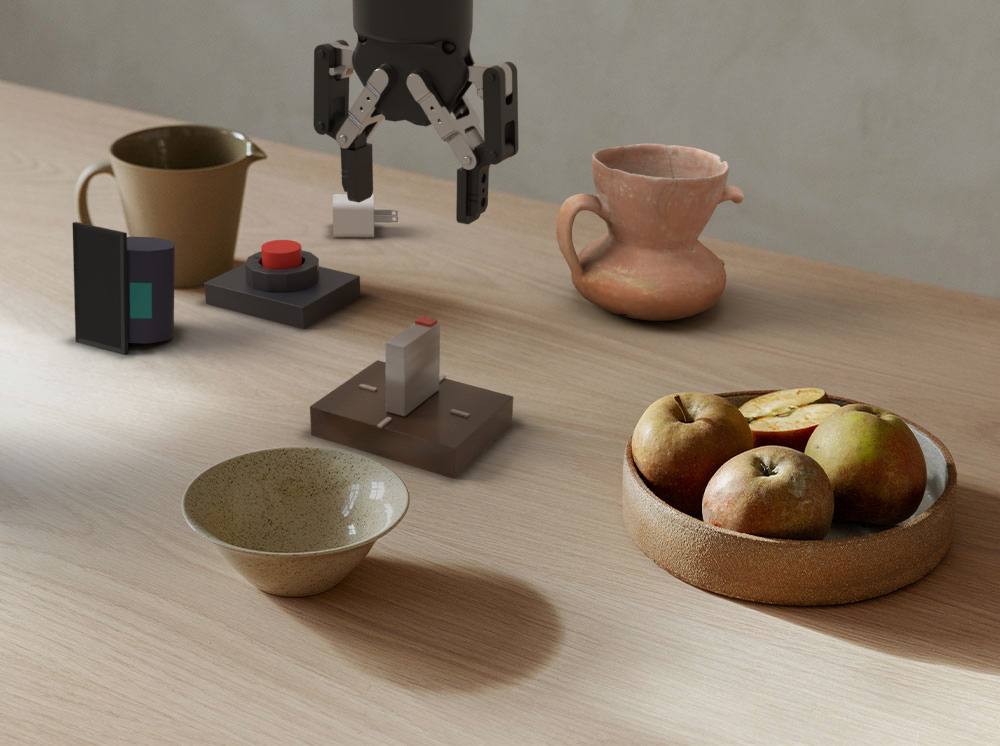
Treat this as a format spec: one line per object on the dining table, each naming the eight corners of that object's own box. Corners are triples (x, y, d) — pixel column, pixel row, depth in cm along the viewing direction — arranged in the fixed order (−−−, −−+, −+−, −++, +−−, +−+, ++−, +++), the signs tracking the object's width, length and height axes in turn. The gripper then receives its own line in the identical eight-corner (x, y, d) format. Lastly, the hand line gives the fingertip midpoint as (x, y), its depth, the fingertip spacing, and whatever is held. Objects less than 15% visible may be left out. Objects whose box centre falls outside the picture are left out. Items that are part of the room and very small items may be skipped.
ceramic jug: (697, 272, 114) (714, 135, 107) (760, 328, 101) (783, 177, 95) (529, 282, 110) (536, 140, 103) (572, 342, 97) (583, 185, 91)
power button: (254, 266, 101) (252, 248, 100) (278, 254, 104) (277, 237, 103) (286, 274, 99) (285, 255, 98) (309, 262, 102) (309, 244, 101)
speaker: (107, 362, 90) (100, 237, 86) (74, 343, 93) (66, 222, 90) (190, 345, 95) (187, 227, 91) (156, 327, 98) (152, 213, 95)
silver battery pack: (404, 417, 78) (404, 344, 76) (385, 411, 79) (384, 338, 77) (439, 389, 82) (440, 319, 80) (421, 384, 83) (421, 314, 81)
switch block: (205, 304, 102) (202, 264, 100) (266, 274, 109) (264, 236, 107) (303, 330, 97) (302, 288, 95) (360, 297, 104) (359, 257, 103)
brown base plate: (310, 436, 81) (308, 404, 79) (378, 387, 88) (377, 357, 87) (453, 481, 76) (454, 447, 75) (512, 424, 83) (514, 393, 82)
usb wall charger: (334, 227, 122) (333, 192, 120) (397, 227, 123) (397, 192, 121) (333, 239, 119) (332, 203, 117) (398, 239, 119) (398, 204, 118)
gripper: (281, -48, 67) (294, 207, 75) (487, -29, 62) (480, 245, 69) (349, -57, 74) (356, 180, 81) (543, -40, 68) (532, 213, 75)
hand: (413, 209), depth 75 cm, fingers open, 8 cm apart
